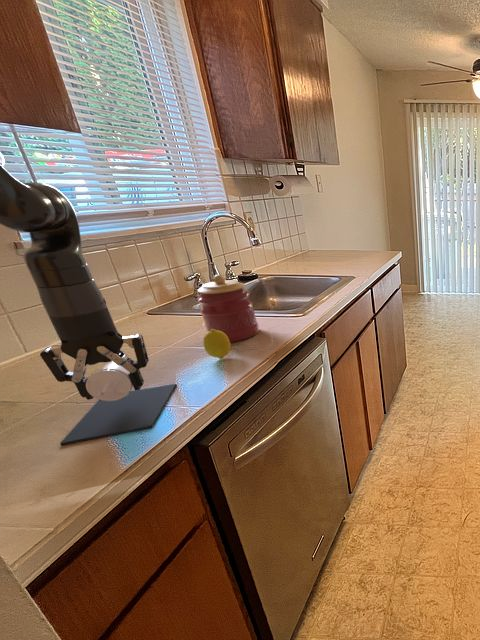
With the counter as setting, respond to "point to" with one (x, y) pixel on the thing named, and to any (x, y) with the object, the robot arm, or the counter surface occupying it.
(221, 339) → the lemon
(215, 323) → the kitchen canister
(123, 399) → the mat
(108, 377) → the smoothie
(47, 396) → the counter surface
